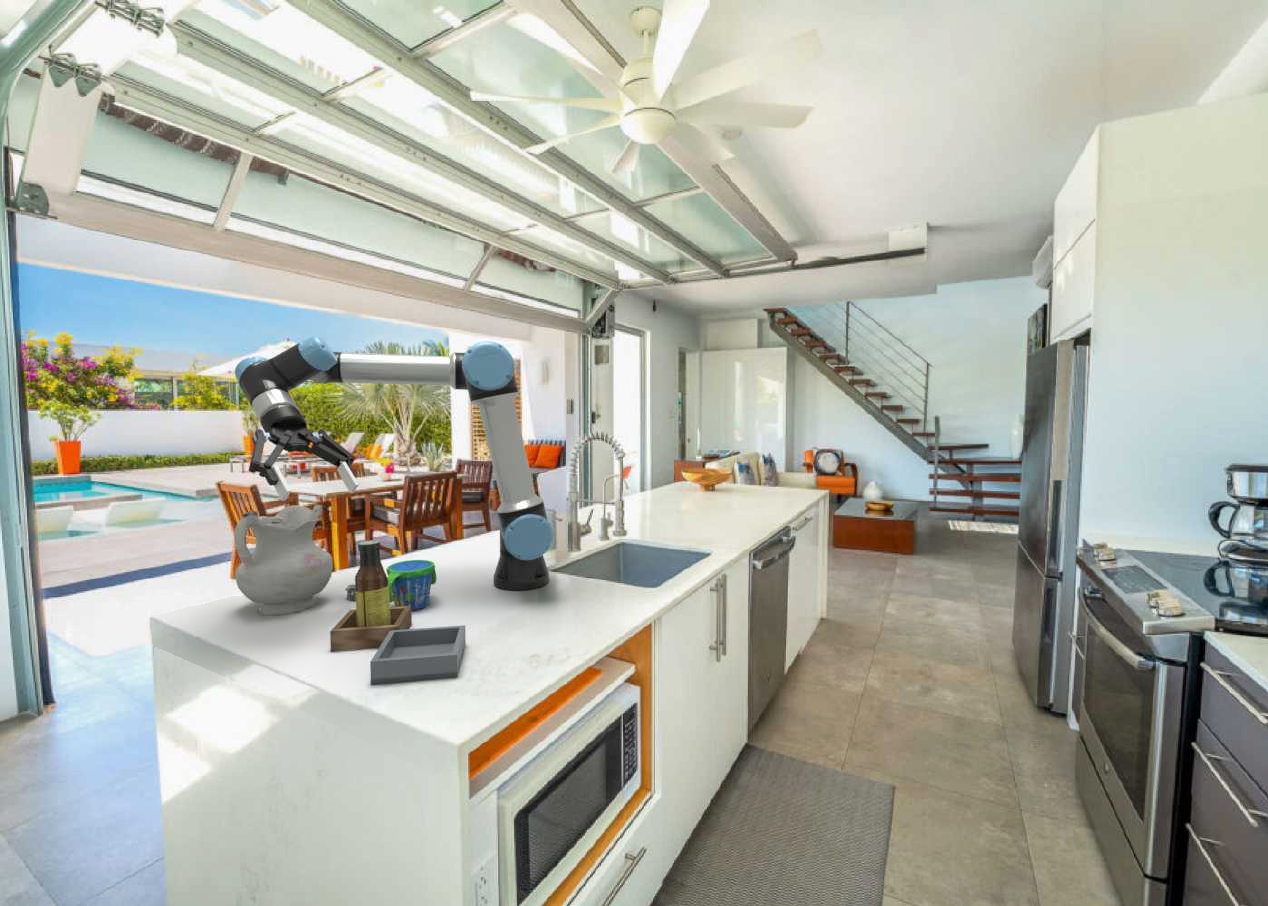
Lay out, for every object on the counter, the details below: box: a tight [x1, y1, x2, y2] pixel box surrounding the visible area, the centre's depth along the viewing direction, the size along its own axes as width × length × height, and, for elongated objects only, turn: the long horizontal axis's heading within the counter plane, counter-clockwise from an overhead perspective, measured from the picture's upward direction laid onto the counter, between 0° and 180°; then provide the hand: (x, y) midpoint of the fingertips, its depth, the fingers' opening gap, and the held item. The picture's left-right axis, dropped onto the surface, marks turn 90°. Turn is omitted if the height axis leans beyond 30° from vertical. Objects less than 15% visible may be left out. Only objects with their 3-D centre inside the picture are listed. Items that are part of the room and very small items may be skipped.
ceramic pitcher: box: [233, 503, 334, 617], centre depth 127 cm, size 22×20×25 cm
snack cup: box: [386, 559, 438, 612], centre depth 129 cm, size 16×10×10 cm
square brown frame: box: [329, 606, 413, 652], centre depth 111 cm, size 12×12×4 cm
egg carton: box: [344, 584, 356, 603], centre depth 138 cm, size 10×7×4 cm
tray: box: [369, 624, 467, 686], centre depth 99 cm, size 14×14×4 cm
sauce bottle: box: [354, 539, 391, 627], centre depth 111 cm, size 6×6×20 cm
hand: (322, 492), depth 107 cm, fingers open, 13 cm apart
